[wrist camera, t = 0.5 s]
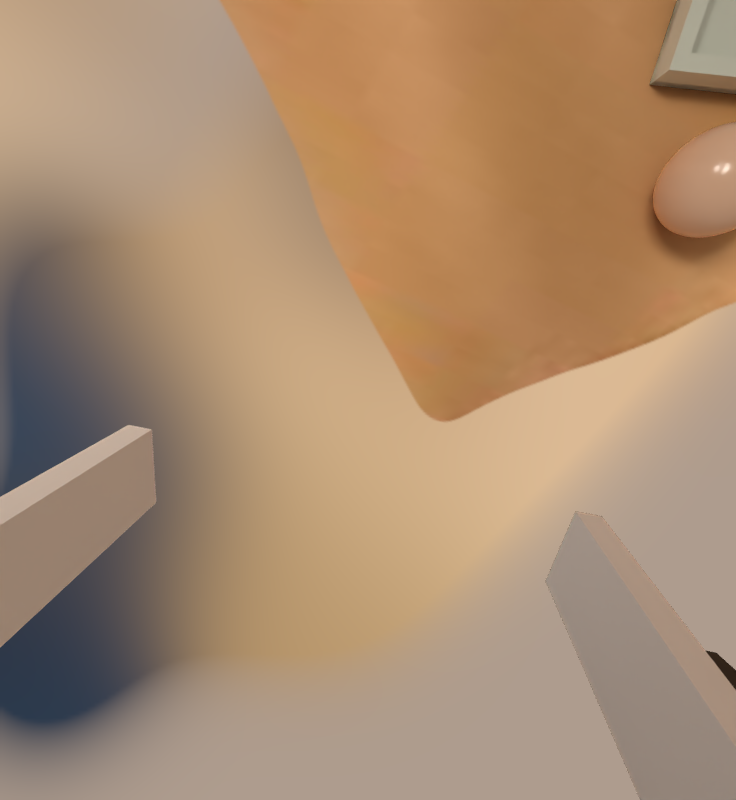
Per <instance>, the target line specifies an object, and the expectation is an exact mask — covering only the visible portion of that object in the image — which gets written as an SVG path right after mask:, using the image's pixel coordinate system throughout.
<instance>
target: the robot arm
mask: <svg viewBox="0 0 736 800" xmlns="http://www.w3.org/2000/svg"><path fill="white" fill-rule="evenodd" d="M155 503H156V491H155V474H154V457H153V441H152V430H151V429H146V428H141V427H136V426H131V425H128V426H126V427H124V428H122V429H121V430H119V431H117V432H115V433H114V434H112V435H110V436H108V437H106V438H105V439H103V440H101V441H99V442H97V443H96V444H94V445H92V446H90V447H89V448H87V449H85V450H83V451H81V452H80V453H78V454H76V455H74V456H73V457H71V458H69V459H67V460H65V461H64V462H62V463H60V464H58V465H57V466H55V467H53V468H51V469H49V470H48V471H46V472H44V473H42V474H41V475H39V476H37V477H35V478H34V479H32V480H30V481H28V482H26V483H25V484H23V485H21V486H19V487H18V488H16V489H14V490H12V491H10V492H9V493H7V494H5V495H3V496H1V497H0V647H1V646H2V645H3V644H4V643H5V642H7V640H9V639H10V638H11V637H12V636H13V635H14V634H15V633H16V632H17V631H18V630H19V629H20V628H21V627H23V626H24V625H25V624H26V623H27V622H28V621H29V620H30V619H31V618H32V617H33V616H34V615H35V614H37V613H38V612H39V611H40V610H41V609H42V608H43V607H44V606H45V605H46V604H47V603H48V602H50V601H51V600H52V599H53V598H54V597H55V596H56V595H57V594H58V593H59V592H60V591H61V590H62V589H64V587H66V586H67V585H68V584H69V583H70V582H71V581H72V580H73V579H74V578H75V577H76V576H78V574H80V573H81V572H82V571H83V570H84V569H85V568H86V567H87V566H88V565H89V564H90V563H92V562H93V561H94V560H95V559H96V558H97V557H98V556H99V555H100V554H101V553H102V552H103V551H104V550H105V549H107V548H108V547H109V546H110V545H111V544H112V543H113V542H114V541H115V540H116V539H117V538H118V537H120V536H121V535H122V534H123V533H124V532H125V531H126V530H127V529H128V528H129V527H130V526H131V525H132V524H133V523H135V522H136V521H137V520H138V519H139V518H140V517H141V516H142V515H143V514H144V513H145V512H146V511H147V510H149V509H150V508H151V507H152V506H153V505H154V504H155ZM546 583H547V586H548V588H549V590H550V593H551V595H552V597H553V599H554V602H555V604H556V607H557V609H558V611H559V614H560V616H561V618H562V621H563V623H564V625H565V627H566V630H567V632H568V634H569V637H570V639H571V641H572V644H573V646H574V648H575V651H576V653H577V655H578V658H579V660H580V662H581V664H582V667H583V669H584V671H585V674H586V676H587V678H588V681H589V683H590V685H591V687H592V690H593V692H594V694H595V697H596V699H597V701H598V704H599V706H600V708H601V711H602V713H603V715H604V718H605V720H606V722H607V724H608V727H609V729H610V731H611V734H612V736H613V738H614V741H615V743H616V745H617V748H618V750H619V752H620V755H621V757H622V759H623V761H624V764H625V766H626V768H627V771H628V773H629V775H630V778H631V780H632V782H633V785H634V787H635V789H636V791H637V794H638V796H639V798H640V800H736V670H735V669H734V668H733V667H731V666H730V665H729V664H728V663H727V662H726V661H725V660H724V659H722V658H721V657H720V656H719V655H718V654H717V653H714V652H710V651H705V650H704V648H703V647H702V646H701V644H700V643H699V642H698V641H697V639H696V638H695V637H694V635H693V634H692V633H691V632H690V630H689V629H688V628H687V626H686V625H685V624H684V622H683V621H682V620H681V618H680V617H679V616H678V615H677V613H676V612H675V611H674V609H673V608H672V607H671V606H670V604H669V603H668V602H667V600H666V599H665V598H664V596H663V595H662V594H661V593H660V592H659V590H658V589H657V587H656V586H655V585H654V584H653V582H652V581H651V580H650V578H649V577H648V576H647V574H646V573H645V572H644V570H643V569H642V568H641V567H640V565H639V564H638V563H637V561H636V560H635V559H634V558H633V556H632V555H631V554H630V552H629V551H628V550H627V548H626V547H625V546H624V545H623V543H622V542H621V541H620V539H619V538H618V537H617V535H616V534H615V533H614V532H613V530H612V529H611V528H610V527H609V525H608V524H607V522H606V521H605V520H604V519H603V517H602V516H598V515H592V514H587V513H582V512H575V514H574V516H573V519H572V521H571V523H570V525H569V528H568V530H567V532H566V535H565V537H564V539H563V541H562V544H561V546H560V548H559V551H558V553H557V555H556V558H555V560H554V562H553V565H552V567H551V569H550V572H549V574H548V577H547V579H546Z"/></svg>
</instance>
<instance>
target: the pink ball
mask: <svg viewBox="0 0 736 800" xmlns="http://www.w3.org/2000/svg"><path fill="white" fill-rule="evenodd" d="M653 207H654V211H655V214H656V216H657V218H658V219H659V221H660V222H661V224H662V225H663V226H664V227H665V228H667V229H668V230H670V231H672V232H673V233H675V234H678V235H681V236H686V237H694V238H702V237H711V236H716V235H720V234H723V233H727V232H729V231H732V230H734V229H736V122H731V123H727V124H723V125H720V126H717V127H714V128H712V129H709V130H707V131H705V132H703V133H701V134H700V135H698V136H696V137H695V138H693V139H692V140H690V141H689V142H688V143H686V144H685V145H684V146H683V147H681V148H680V149H679V150H678V151H677V152H676V153H675V154H674V155H673V156H672V157H671V159H670V160H669V161H668V162H667V163H666V165H665V166H664V168H663V169H662V171H661V173H660V175H659V177H658V179H657V182H656V185H655V188H654V193H653Z"/></svg>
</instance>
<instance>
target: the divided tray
mask: <svg viewBox="0 0 736 800" xmlns="http://www.w3.org/2000/svg"><path fill="white" fill-rule="evenodd" d="M650 85H656V86H665V87H674V88H683V89H692V90H701V91H711V92H720V93H729V94H736V0H677V2H676V5H675V8H674V11H673V14H672V17H671V20H670V23H669V26H668V29H667V32H666V35H665V38H664V42H663V45H662V48H661V51H660V54H659V57H658V60H657V63H656V66H655V69H654V72H653V75H652V78H651V82H650Z"/></svg>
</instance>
